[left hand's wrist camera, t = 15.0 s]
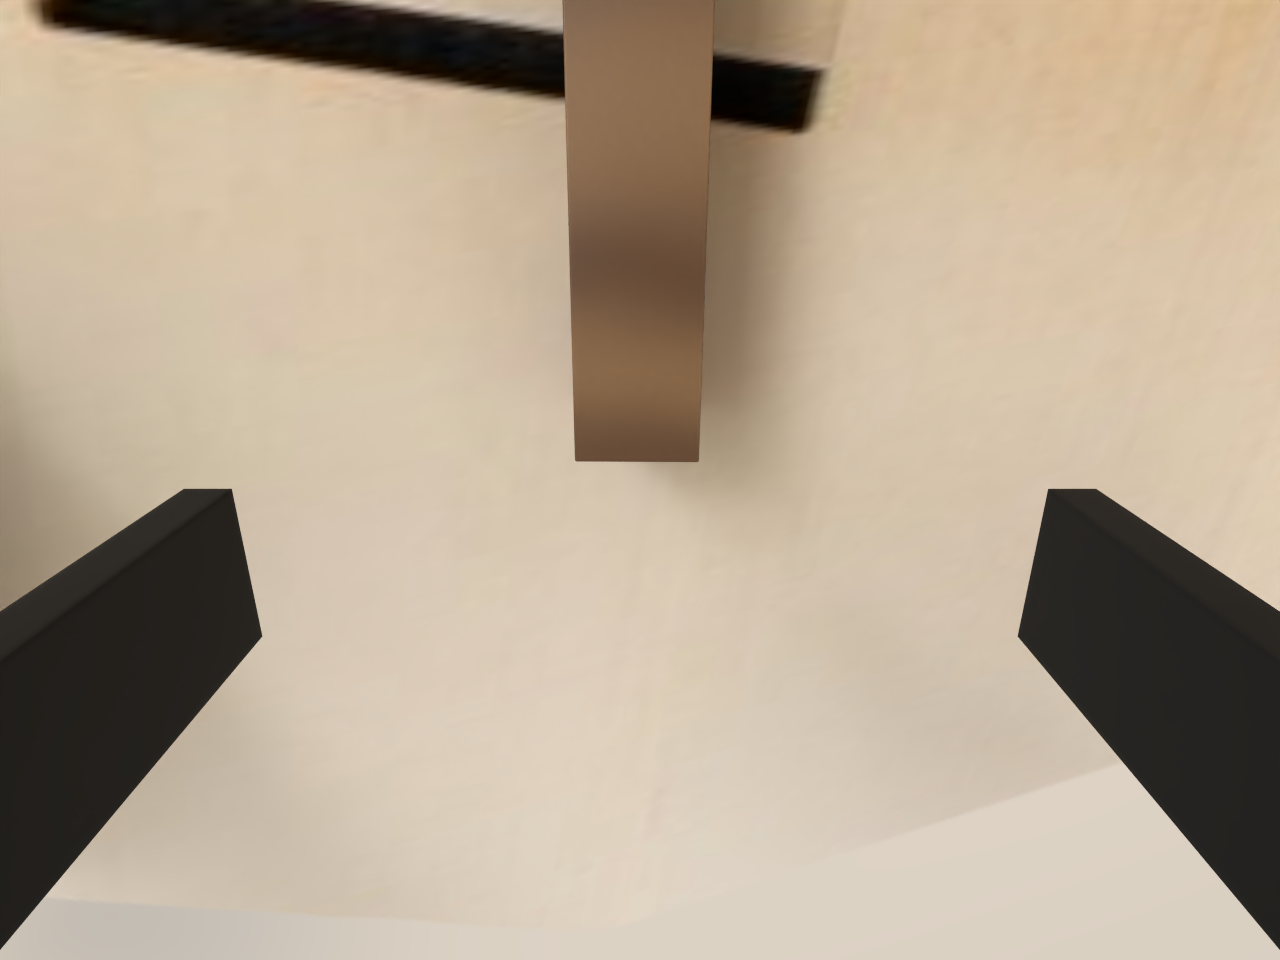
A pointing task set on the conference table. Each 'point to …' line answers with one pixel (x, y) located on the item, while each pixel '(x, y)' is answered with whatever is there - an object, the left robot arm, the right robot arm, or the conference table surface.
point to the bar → (637, 222)
